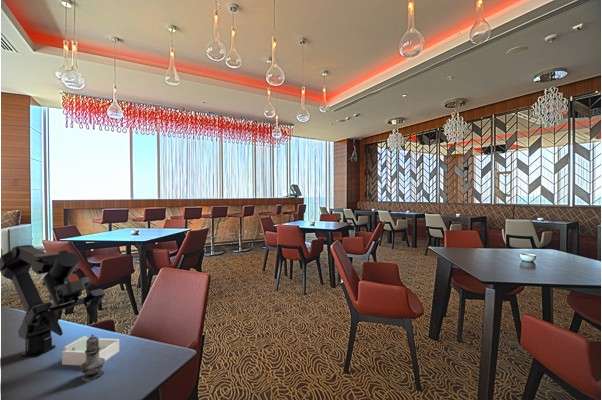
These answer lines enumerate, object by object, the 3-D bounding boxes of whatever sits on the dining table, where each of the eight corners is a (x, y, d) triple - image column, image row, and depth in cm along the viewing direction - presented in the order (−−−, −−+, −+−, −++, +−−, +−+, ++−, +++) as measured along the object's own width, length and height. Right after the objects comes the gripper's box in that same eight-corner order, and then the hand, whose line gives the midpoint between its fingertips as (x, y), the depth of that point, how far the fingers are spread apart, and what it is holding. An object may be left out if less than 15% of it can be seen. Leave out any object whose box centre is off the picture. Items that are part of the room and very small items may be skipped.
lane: (62, 364, 89) (61, 348, 89) (86, 349, 98) (86, 334, 98) (97, 366, 87) (97, 349, 88) (119, 351, 96) (119, 336, 96)
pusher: (72, 358, 90) (72, 347, 90) (89, 348, 96) (89, 337, 96) (75, 359, 90) (75, 347, 90) (92, 348, 96) (92, 337, 96)
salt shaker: (92, 383, 79) (91, 339, 79) (74, 380, 80) (74, 337, 81) (110, 370, 85) (109, 330, 85) (93, 368, 86) (93, 328, 86)
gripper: (30, 277, 80) (51, 324, 75) (101, 264, 97) (122, 301, 92) (17, 302, 83) (36, 348, 78) (88, 285, 100) (108, 322, 95)
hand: (79, 328), depth 86 cm, fingers open, 9 cm apart
